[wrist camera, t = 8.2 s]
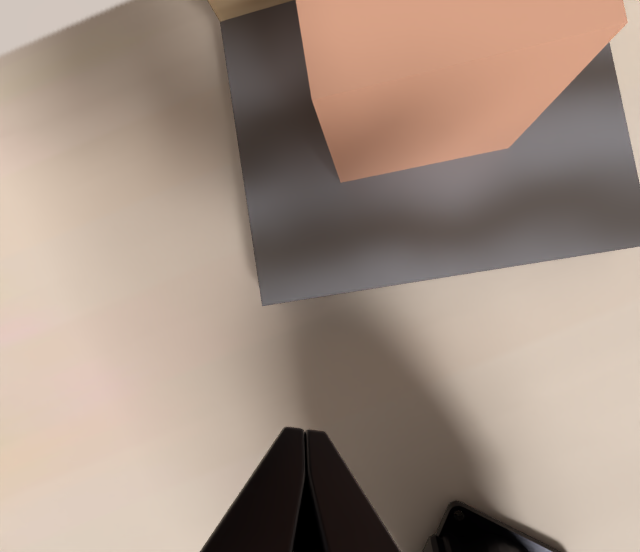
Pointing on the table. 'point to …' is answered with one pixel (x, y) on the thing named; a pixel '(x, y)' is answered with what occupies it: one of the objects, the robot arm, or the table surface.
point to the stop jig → (416, 179)
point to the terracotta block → (441, 73)
